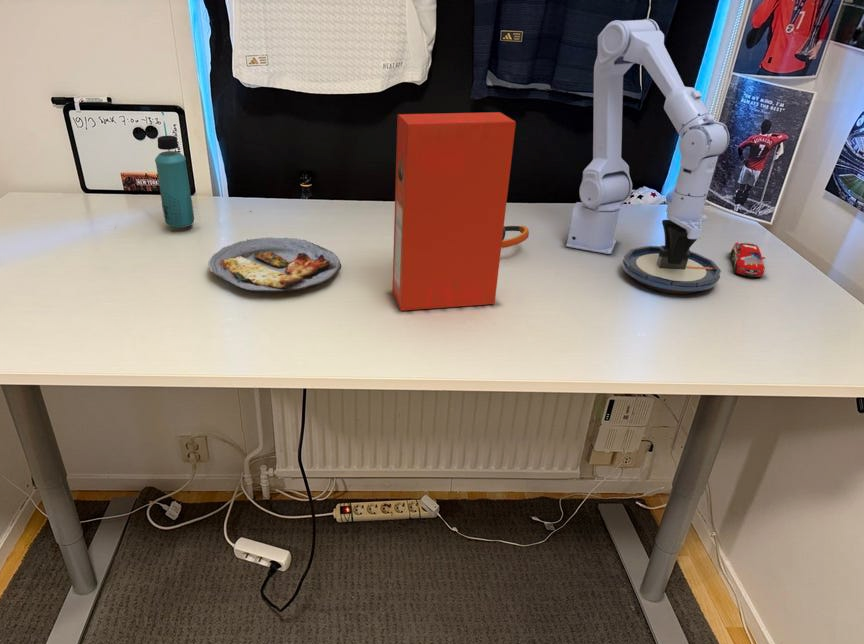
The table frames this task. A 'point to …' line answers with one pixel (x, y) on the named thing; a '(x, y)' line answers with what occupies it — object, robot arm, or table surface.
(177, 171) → the beverage bottle
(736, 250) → the race car
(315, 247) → the food plate
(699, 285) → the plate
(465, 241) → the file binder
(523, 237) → the headphones
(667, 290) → the turntable base
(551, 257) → the table surface
